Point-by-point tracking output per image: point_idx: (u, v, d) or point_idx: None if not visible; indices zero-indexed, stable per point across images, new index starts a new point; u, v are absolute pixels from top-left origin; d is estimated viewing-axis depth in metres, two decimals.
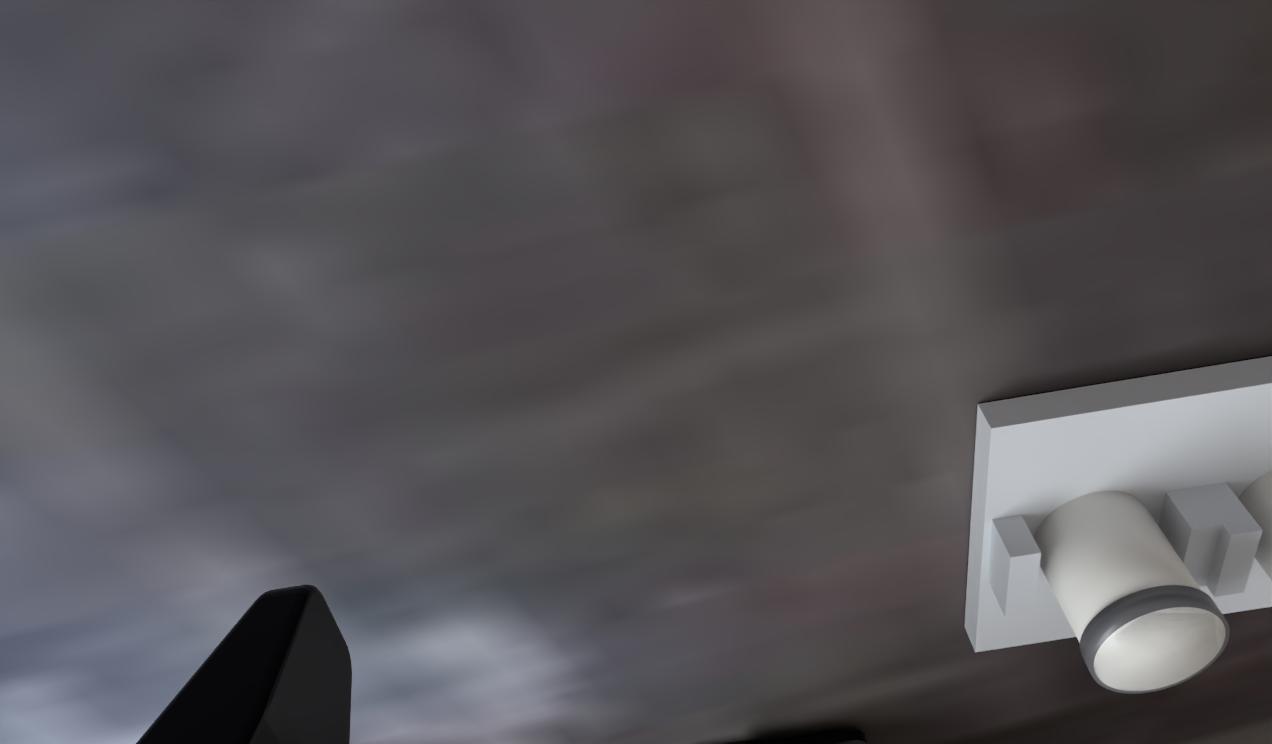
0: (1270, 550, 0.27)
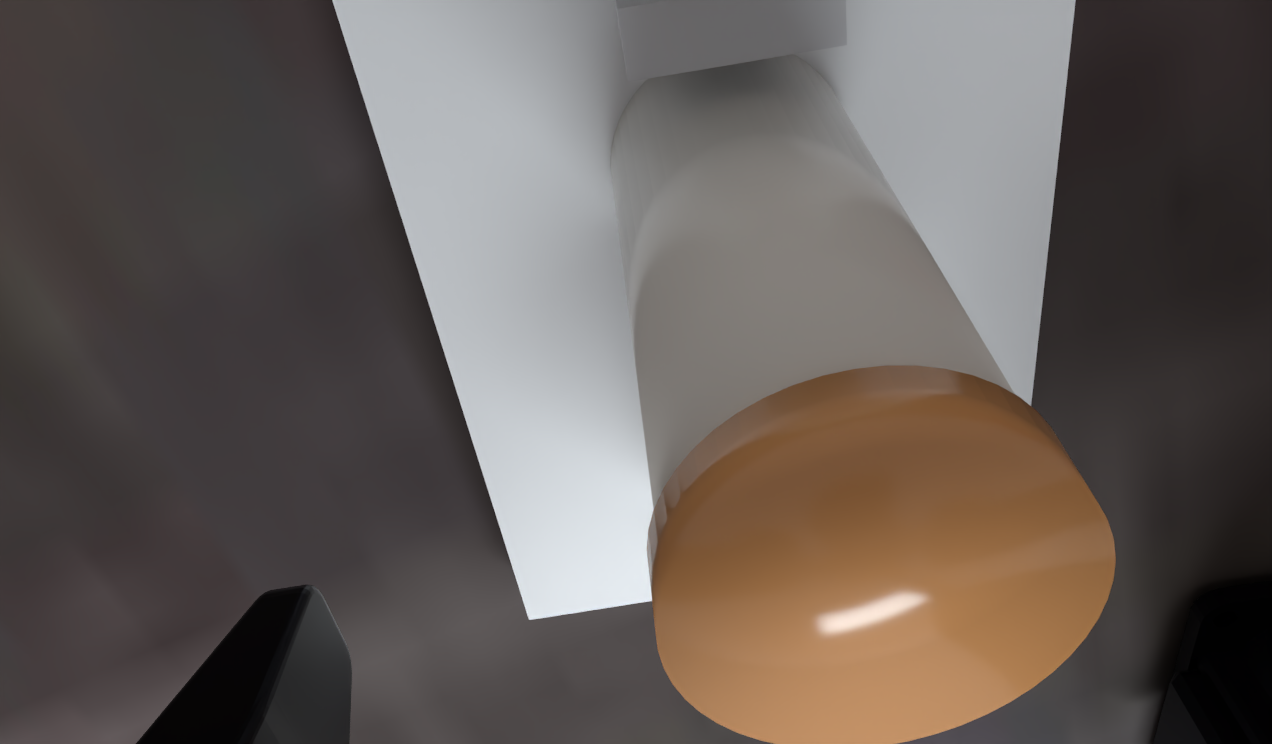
0: None
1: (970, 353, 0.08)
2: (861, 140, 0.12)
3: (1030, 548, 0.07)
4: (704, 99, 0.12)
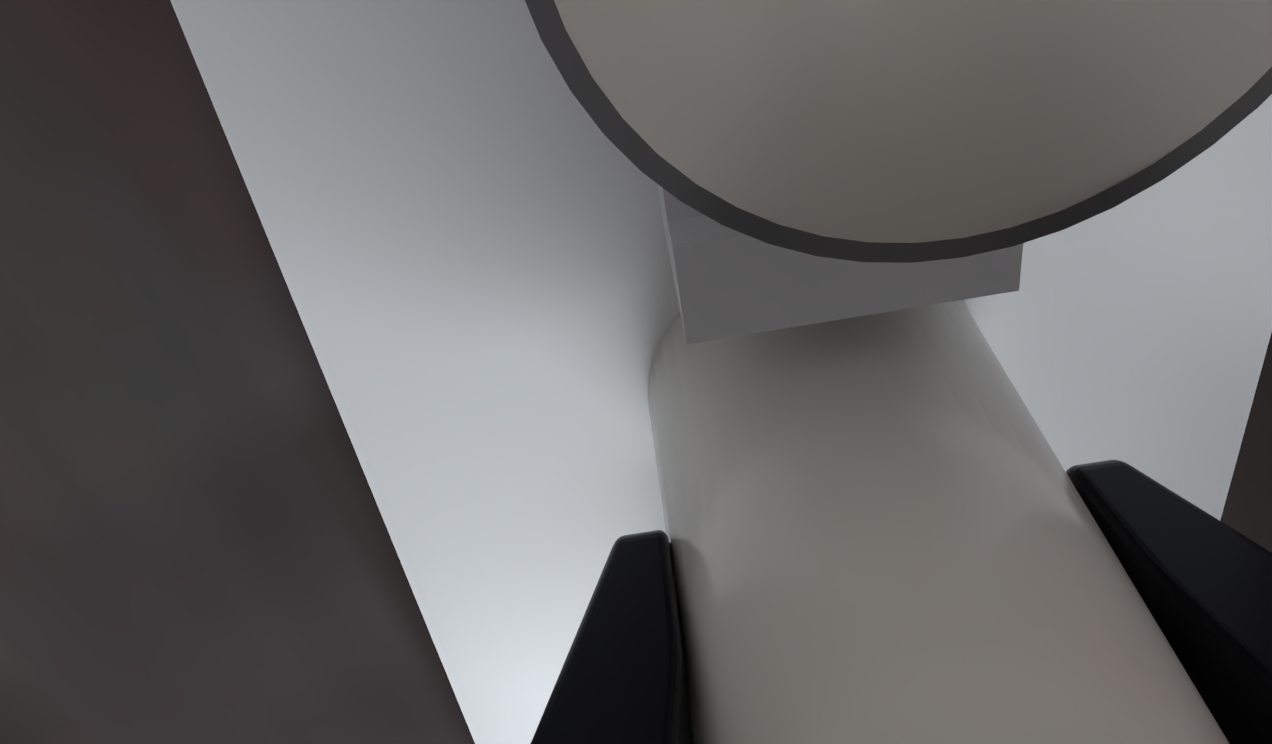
0: None
1: None
2: (1027, 412, 0.08)
3: None
4: (797, 356, 0.08)
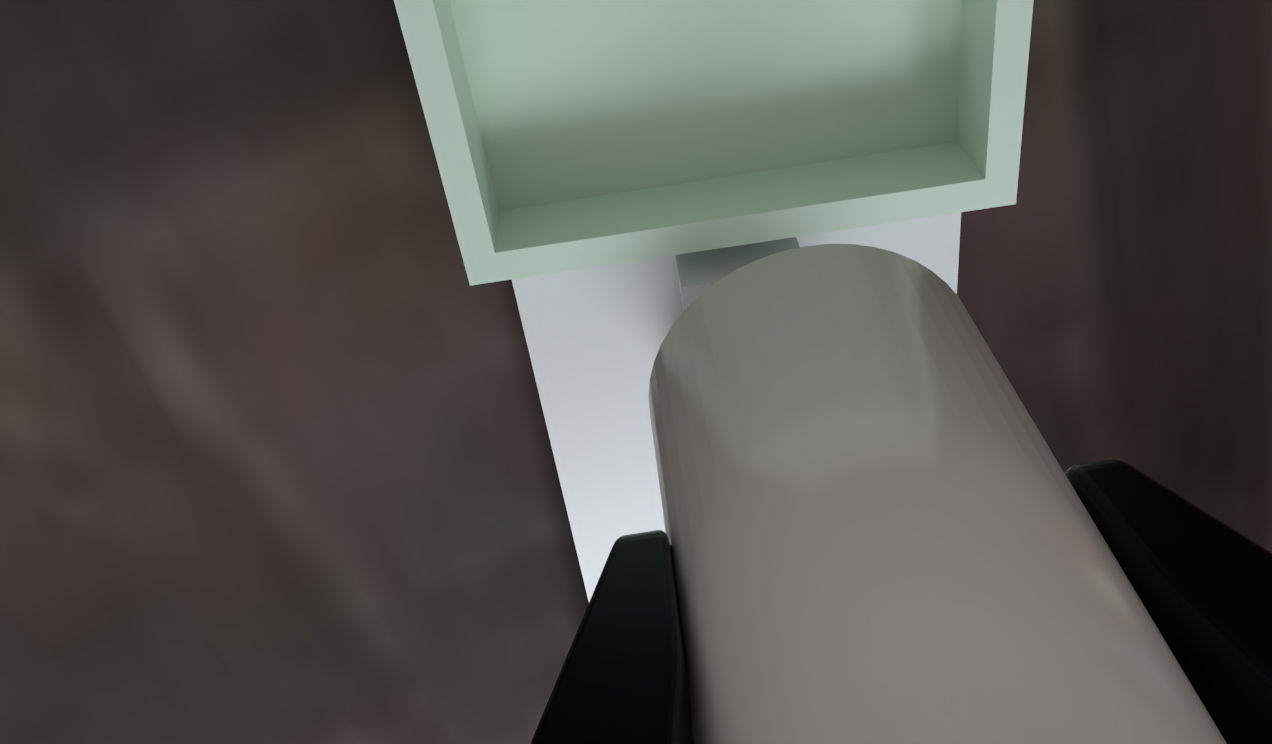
0: None
1: None
2: (1028, 417, 0.08)
3: None
4: (798, 361, 0.08)
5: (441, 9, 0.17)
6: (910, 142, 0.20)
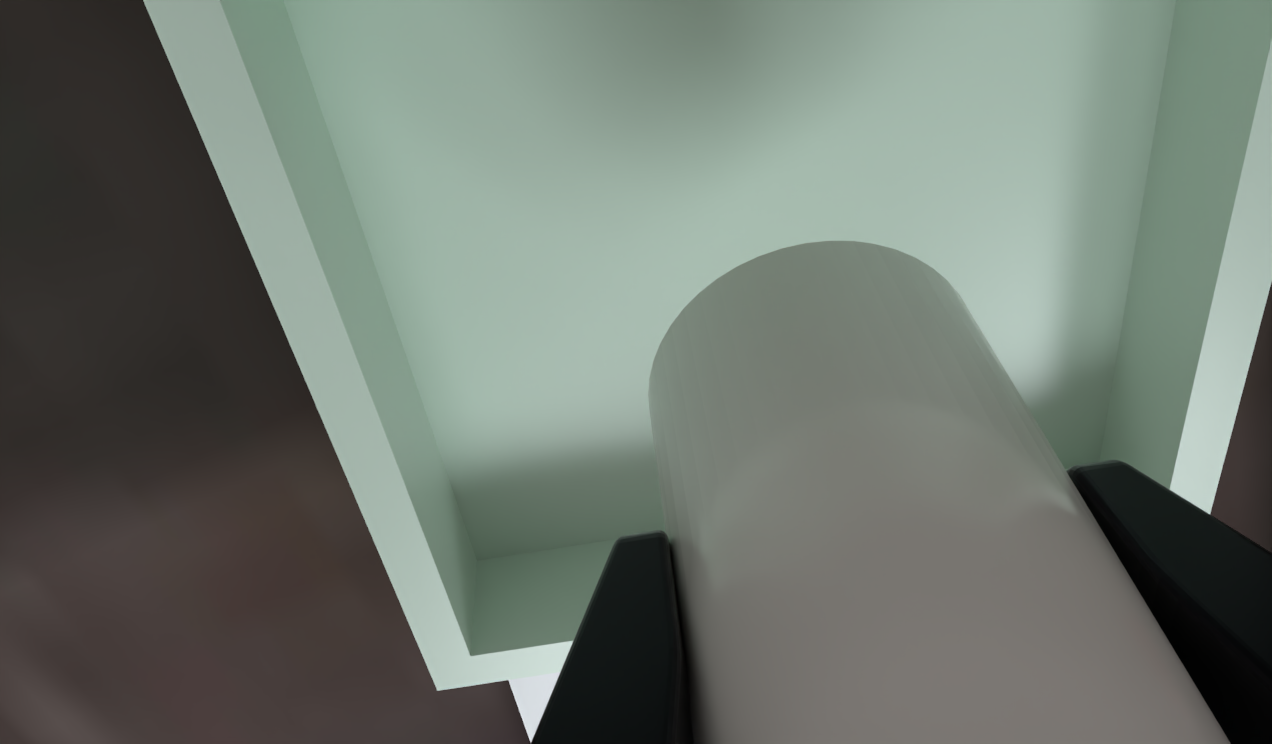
0: None
1: None
2: (1029, 414, 0.08)
3: None
4: (799, 357, 0.08)
5: (383, 372, 0.12)
6: None
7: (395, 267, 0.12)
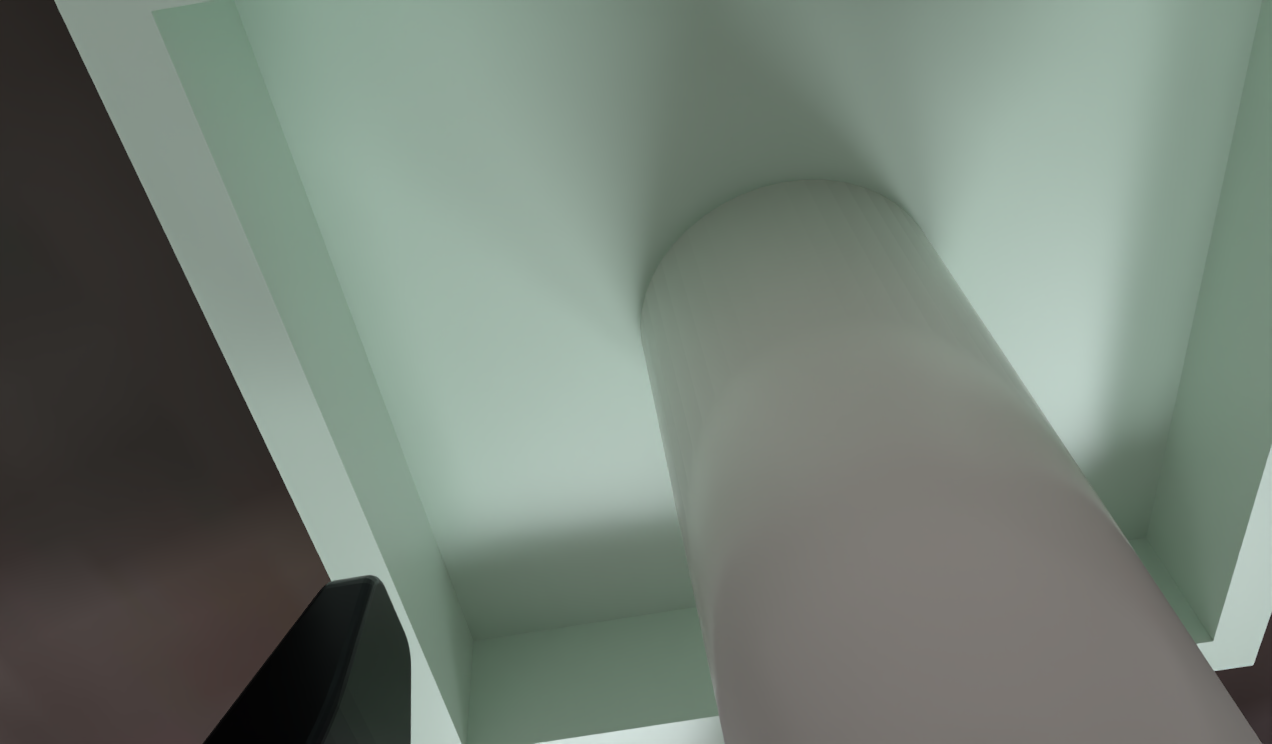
0: None
1: None
2: (984, 326, 0.09)
3: None
4: (780, 280, 0.09)
5: (368, 458, 0.11)
6: None
7: (382, 339, 0.11)
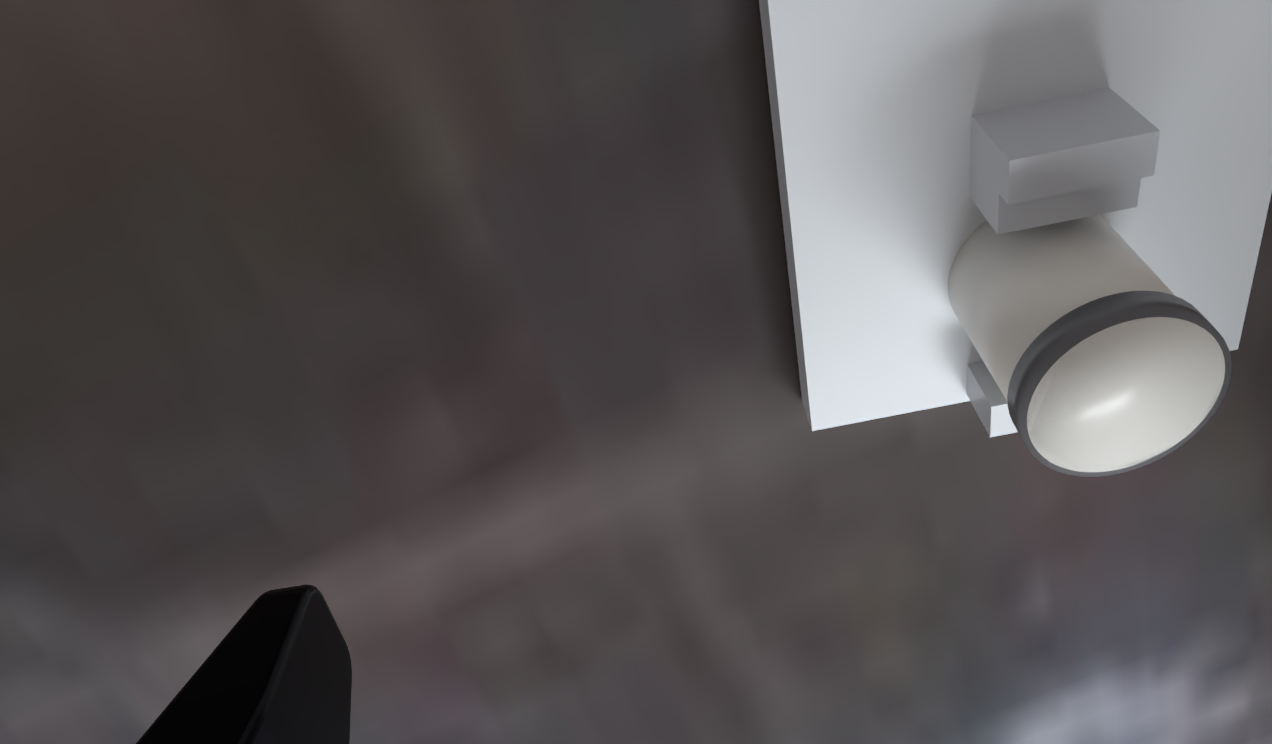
0: None
1: None
2: None
3: None
4: None
5: None
6: None
7: None
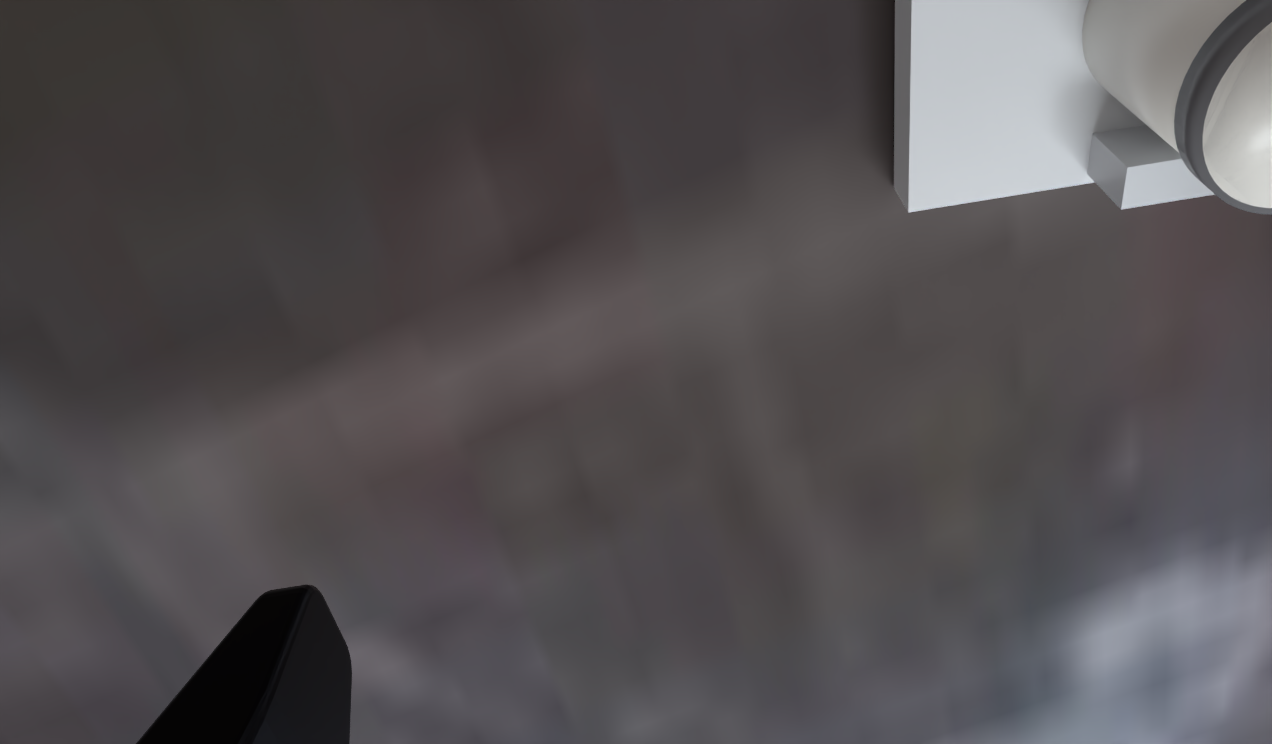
0: None
1: None
2: None
3: None
4: None
5: None
6: None
7: None
